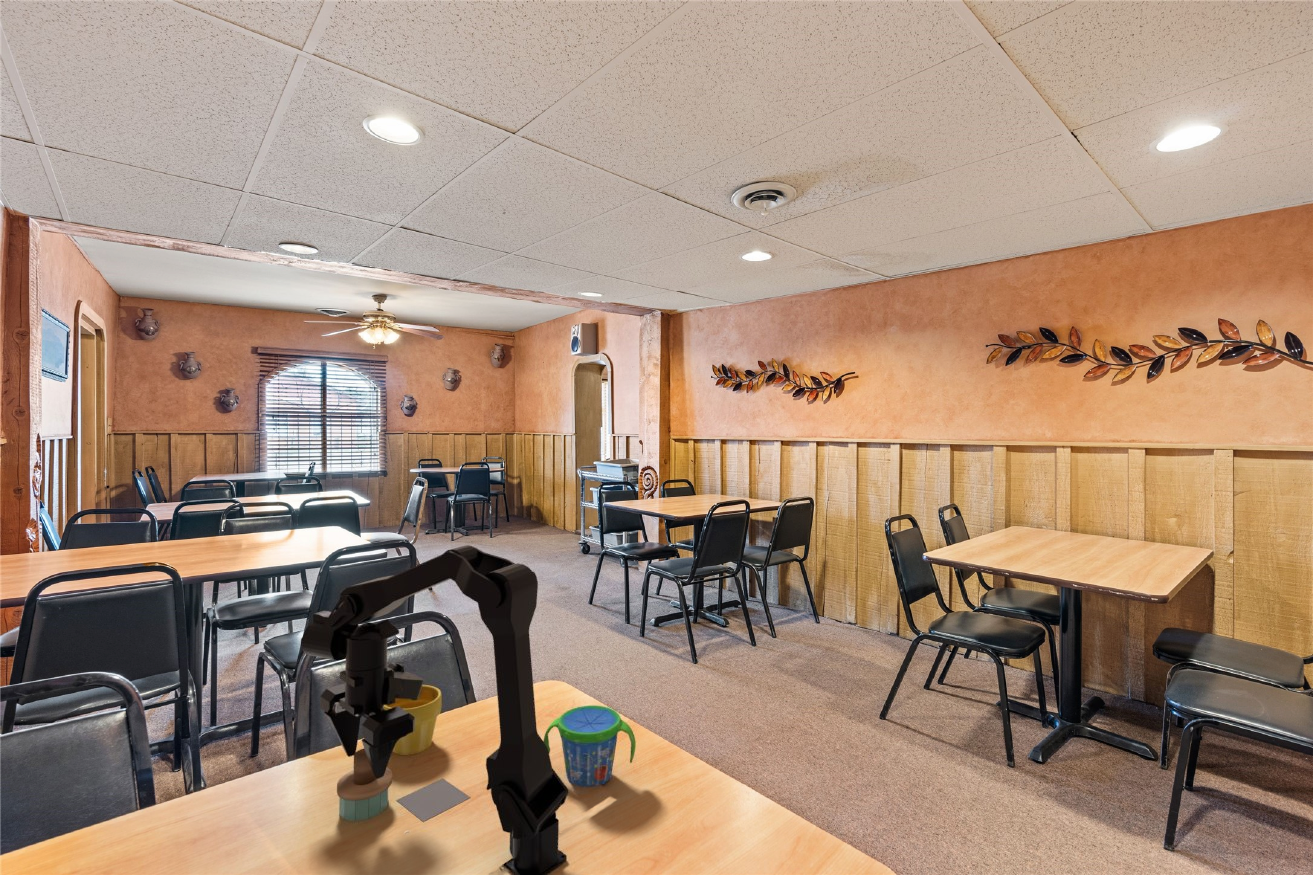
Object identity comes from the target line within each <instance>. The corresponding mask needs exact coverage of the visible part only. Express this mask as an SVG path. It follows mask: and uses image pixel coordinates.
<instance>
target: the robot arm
mask: <svg viewBox="0 0 1313 875" xmlns="http://www.w3.org/2000/svg"><path fill="white" fill-rule="evenodd" d="M450 580H452V582H454V583H455V584H456V586H457V587H458V589H459V590H460V591H461V593H462V595H464V596H465V597H468V598H469V599H471V600H472V601H475V603H477V606H478V611H479V614H480V619H481V621H482V623H483V624H484V625H485V627H486V628H487V630H488V631H489V633H490V634H491V636H492V642H493V656H494V665H495V666H494V668H495V669H494V670H495V681H496V696H497V704H498V705H497V707H498V720H499V721H498V722H499V734H500V741H499V742H500V743H499V746H498V748H497V749H496V750H495V751H493V752H492V753H491V754H490V755H488V757H486V760H485V768H486V773H487V785H486V790H487V791H489V790H490V795H491V800H492V802H493V804H494V806H496V807H495V808H496V810H497V814H498V818H499V822H500V825H501V830H502V831H503V832H505V833H508V834H509V851H510V855H511V856H512V858H511V859H509V860H507V861H505V862H504V863H503V864H502V866H504V867H505V868H506V869H507V870H508V871H510V872H511V873H513V875H548V874H549V873H551V872H552V871H554V870H555V869H556V868H558V867H559V866H561V865H562V864H564V863H565V862H566V861H567V860H568V858H567V854H565V853H564V852H563V851H561V850H560V849H559V830H560V828H559V824H560V822H559V821H560V820H559V819H558V818H557V811H558V810H559V809H560V807H561V806H563V805H564V804H565V803H566V799H567V796H568V795H569V788H568V787H567V786H566V784H565V783H564V782H563V780H562V779H561V777H559V775H558V773H557V772H556V771H555V770H554V768H553V765H552V761H551V757H550V753H549V752H548V748H547V746H546V744H545V743H544V742H543V741H544V739H543V738H541V736H540V734H539V732H538V728H537V716H536V703H535V693H534V691H535V690H534V678H533V668H532V667H533V665H532V654H531V653H532V651H531V641H530V627H531V624H532V621H533V618H534V616H535V612H536V608H537V605H538V604H537V602H538V591H539V590H538V588H539V586H538V585H539V584H538V582H539V581H538V576H537V574H536V573H535V571H533V570H532V569H531V568H530V567H529V566H527V565H526V564H524V563H519V562H518V563H515V562H513V561H511V560H509V559H508V558H504V557H501V556H497V555H494V554H491V553H488V552H484V551H482V550H481V549H479V548H478V547H475V546H473V545H469V544H466V545H462V546H458V547H454V548H451V549H447V550H446V551H445V552H443V553H442V554H440V555H437V556H435V557H433V558H431V559H428V560H426V561H423V562H421V563H419V564H416V565H415V566H413V567H410V568H408V569H406V570H405V569H404V570H403V571H402V572H401V571H400V572H399V573H396V574H394V575H388V576H381V577H378V578H373V579H372V580H366V581H364V582H360V583H357V584H354V585H353V584H352V585H350V586H346V587H345V588H343V589H342V590H341V591H340V594H339V595H340V596H339V599H338V601H337V603H336V605H335V606H334V608H333V609H332V611H328V610H321V611H319V612H315V613H314V614H313V615H312V621H311V622H310V623H309V624H308V625H307V626H306V628H305V630H304V632H303V634H302V637H301V638H300V645H301V649H302V651H303V653H304V654H306V655H308V656H312V657H318V658H323V659H328V660H333V661H344V660H345V670H342V671H340V672H339V679H340V680H341V681H343V682H344V683H340V684H337V685H334V686H330V687H327V688H326V689H325V690H324V691H323V692H322V693H321V695H320V697H319V698H320V699H319V703H320V704H319V705H320V706H319V708H320V709H321V710H323V711H324V712H323V714H324V716H325V717H326V718H327V720H328V722H329V724H330V725H331V728H332V729H333V731H334V733H335V735H336V737H337V739H338V740H339V742H340V744H341V747H342V749H343V751H344V752H345V754H346V756H347V757H349V758H350V757H354V754H355V752H357V747H358V741H359V733H360V726H361V734H362V736H363V738H362V739H361V743H362V745H363V749H365V751H366V754H367V757H368V760H369V763H370V765H371V768H372V771H373V773H374V776H375V778H376V779H379V778H381V777H383V776H384V774H385V771H386V768H388V765H389V763H390V759H391V756H392V754H393V752H392V751H393V749H394V747H395V744H396V743H397V741H398V740H399V739H400V738H402V737H405V736H407V735H408V734H409V733H412V732H413V731H414V730H415V717H414V716H413V715H411V714H410V713H408V712H406V711H405V710H403V709H401V708H400V707H398V706H397V707H394V708H391V709H388V710H385V709H383V705H390V704H393V703H395V698H399V699H411V700H418V697H419V694H420V691H421V688H422V685H424V681H425V679H424V678H423V677H420V676H419V675H417V674H414V673H412V672H409V671H406V670H405V667H404V665H402V664H401V663H399V662H390V663H389V664H388V639H389V638H392V637H395V636H397V635H399V634H400V629H398V627H396V626H395V625H393V624H392V622H391V621H390V620H389V619H385V620H382V621H379V622H377V623H376V622H370V621H371V620H373V619H376V618H379V617H382V616H384V615H388V614H390V613H392V611H394V610H395V609H397V608H399V607H400V606H401V605H403V603H404V602H405V600H408V599H409V598H410V597H412V596H414V595H416V594H419V593H421V592H423V591H426V590H429V589H430V588H433V587H436V586H437V585H439V584H440V585H441V584H442V583H445V582H448V581H450ZM368 621H369V622H368ZM359 624H360V625H359ZM362 717H363V718H365V721H363V722H362V725H361V719H362Z"/></svg>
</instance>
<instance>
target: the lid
mask: <svg viewBox="0 0 1313 875" xmlns="http://www.w3.org/2000/svg"><path fill="white" fill-rule="evenodd" d="M392 783H393V772H392V770H391V769H390V768H389V767H387V768H386V771H385V774H384V776H383V777H381V778H379V779H376V778H375V776H374V773H373V771H372V768H371V765H370V763H369V760H368V757H367V754H366V751H365V749H364V748H361V749H359V750H356V752H355V754H354V755H353V770H351V771H349V772H347V773H345V774H344V775H343V776H342V777H340V778H339V779H338V781H337V783H336V794H337V797H338V798H339V799H340V798H342V799H344V800H349V801H359V800H365V799H369V798H372V797H375V796H377V795H379V794H381V793H383V792H384V791H386V790H387V789H388V790H389V788H390V787H391V785H392Z"/></svg>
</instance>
